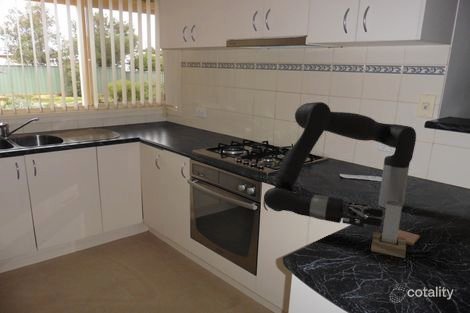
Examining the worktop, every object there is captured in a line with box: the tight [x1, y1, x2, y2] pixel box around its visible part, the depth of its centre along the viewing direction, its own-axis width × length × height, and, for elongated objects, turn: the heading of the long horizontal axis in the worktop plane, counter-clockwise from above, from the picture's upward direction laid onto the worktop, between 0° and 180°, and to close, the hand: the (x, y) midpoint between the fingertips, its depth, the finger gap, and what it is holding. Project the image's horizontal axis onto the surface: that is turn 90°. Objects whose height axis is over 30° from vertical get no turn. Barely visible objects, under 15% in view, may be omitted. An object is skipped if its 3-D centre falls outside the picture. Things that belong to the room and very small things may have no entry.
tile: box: [398, 229, 420, 246], centre depth 114 cm, size 8×8×1 cm
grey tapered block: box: [381, 201, 403, 245], centre depth 105 cm, size 4×4×14 cm
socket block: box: [370, 231, 407, 259], centre depth 106 cm, size 9×9×2 cm
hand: (381, 218), depth 105 cm, fingers open, 8 cm apart
